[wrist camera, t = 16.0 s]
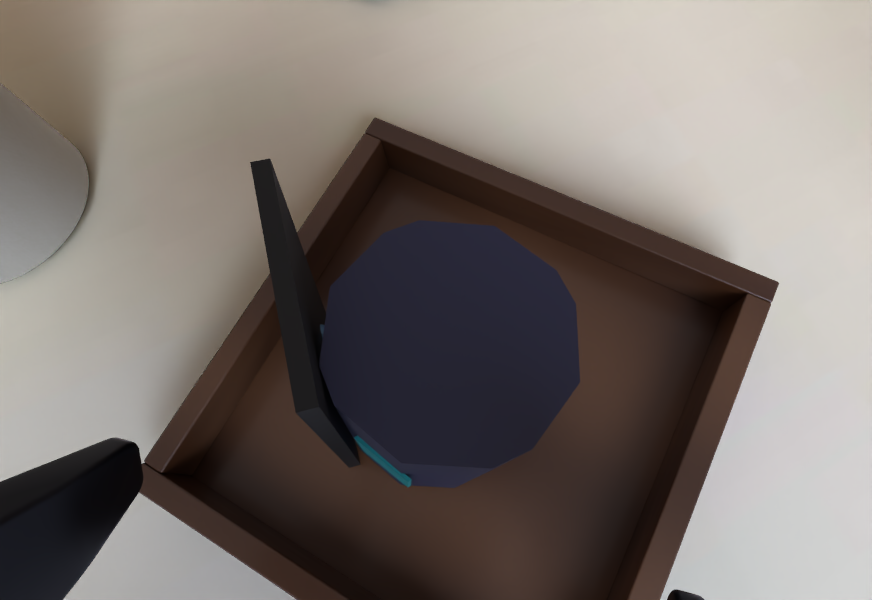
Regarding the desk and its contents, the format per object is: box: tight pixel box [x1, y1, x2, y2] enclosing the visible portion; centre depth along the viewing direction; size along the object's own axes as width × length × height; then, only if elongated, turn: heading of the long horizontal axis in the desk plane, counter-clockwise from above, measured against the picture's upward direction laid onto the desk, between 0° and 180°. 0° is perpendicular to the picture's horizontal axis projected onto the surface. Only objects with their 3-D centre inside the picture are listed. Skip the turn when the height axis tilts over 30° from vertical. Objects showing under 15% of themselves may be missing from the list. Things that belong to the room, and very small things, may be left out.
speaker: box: [250, 159, 580, 488], centre depth 15 cm, size 8×6×10 cm
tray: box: [139, 118, 779, 600], centre depth 19 cm, size 16×16×3 cm
